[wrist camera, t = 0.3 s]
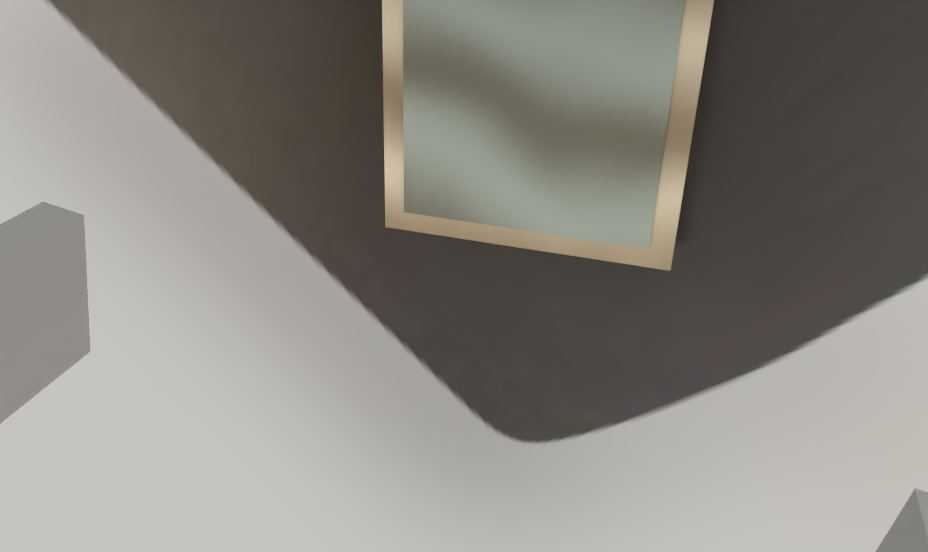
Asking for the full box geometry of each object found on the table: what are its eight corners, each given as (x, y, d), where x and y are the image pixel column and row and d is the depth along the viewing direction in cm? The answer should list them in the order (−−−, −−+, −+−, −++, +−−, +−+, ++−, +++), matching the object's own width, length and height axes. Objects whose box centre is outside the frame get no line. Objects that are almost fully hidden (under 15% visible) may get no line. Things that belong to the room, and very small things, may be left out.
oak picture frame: (406, -82, 36) (378, -74, 33) (724, -62, 33) (722, -52, 30) (407, 203, 42) (383, 229, 40) (675, 242, 39) (669, 273, 36)
